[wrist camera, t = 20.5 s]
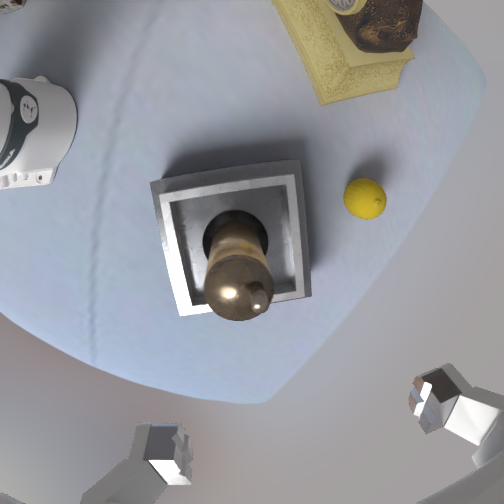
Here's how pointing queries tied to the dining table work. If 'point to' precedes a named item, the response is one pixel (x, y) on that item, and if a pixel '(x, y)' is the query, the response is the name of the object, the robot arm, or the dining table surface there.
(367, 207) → the lemon
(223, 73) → the dining table surface
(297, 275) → the housing
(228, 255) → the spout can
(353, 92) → the decorative clock
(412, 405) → the robot arm
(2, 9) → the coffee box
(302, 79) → the dining table surface
